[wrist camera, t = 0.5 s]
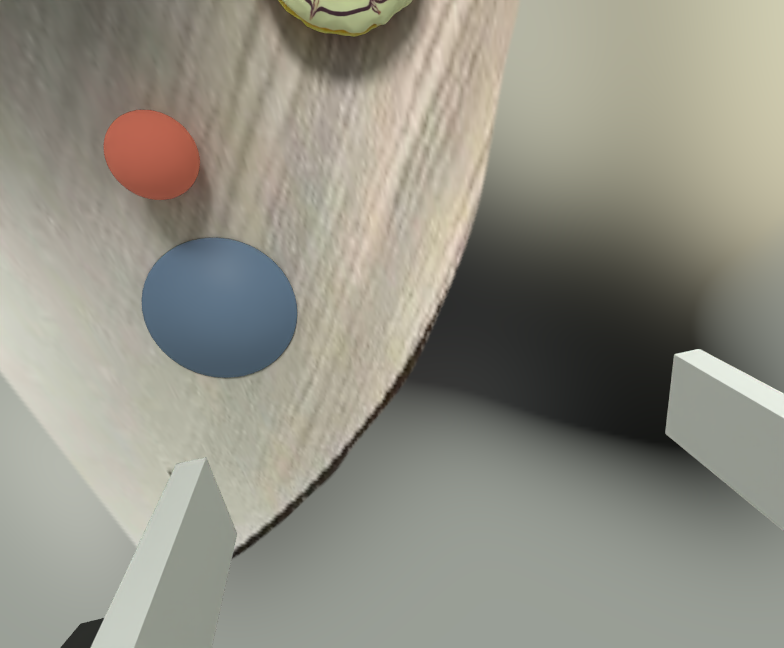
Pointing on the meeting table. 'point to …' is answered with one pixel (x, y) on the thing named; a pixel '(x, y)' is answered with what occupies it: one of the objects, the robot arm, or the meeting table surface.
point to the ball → (151, 154)
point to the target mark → (219, 307)
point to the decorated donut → (344, 14)
